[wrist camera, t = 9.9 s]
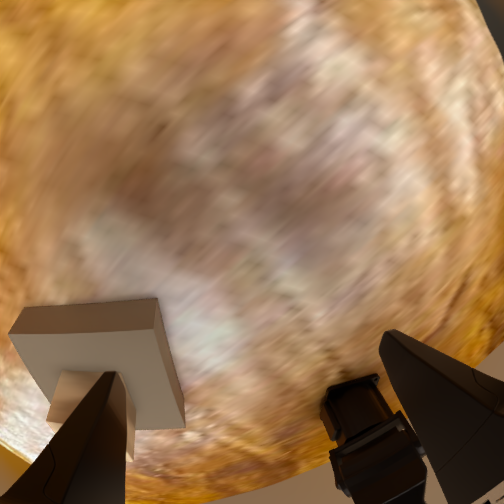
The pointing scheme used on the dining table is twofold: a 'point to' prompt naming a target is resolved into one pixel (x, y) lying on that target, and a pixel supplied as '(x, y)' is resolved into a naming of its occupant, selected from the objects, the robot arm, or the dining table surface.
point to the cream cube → (73, 391)
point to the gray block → (105, 353)
